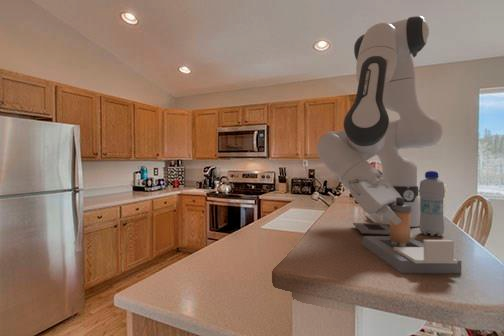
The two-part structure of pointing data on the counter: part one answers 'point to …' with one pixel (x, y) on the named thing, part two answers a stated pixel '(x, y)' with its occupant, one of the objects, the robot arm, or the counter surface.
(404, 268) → the socket block
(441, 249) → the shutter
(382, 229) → the electrical outlet
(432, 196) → the bottle
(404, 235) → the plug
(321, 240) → the counter surface
